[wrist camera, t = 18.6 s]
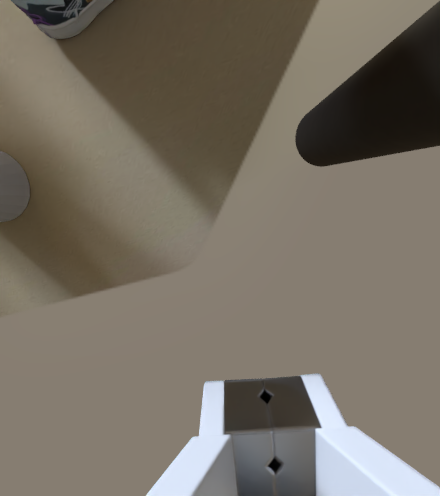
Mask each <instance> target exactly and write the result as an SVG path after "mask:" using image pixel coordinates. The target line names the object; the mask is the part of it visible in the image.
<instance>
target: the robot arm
mask: <svg viewBox="0 0 440 496" xmlns="http://www.w3.org/2000/svg"><path fill="white" fill-rule="evenodd" d="M146 496H440V487H439V486H437V485H436V484H435V483H433V482H432V481H430V480H429V479H427V478H426V477H425V476H423V475H422V474H420V473H419V472H418V471H416V470H415V469H414V468H412V467H411V466H409V465H408V464H407V463H405V462H404V461H402V460H401V459H400V458H398V457H397V456H395V455H394V454H393V453H391V452H390V451H388V450H387V449H386V448H384V447H383V446H382V445H380V444H379V443H377V442H376V441H375V440H373V439H372V438H370V437H369V436H368V435H366V434H365V433H363V432H362V431H361V430H359V429H358V428H356V427H355V426H354V427H348V425H347V424H346V421H345V420H344V418H343V416H342V414H341V412H340V410H339V408H338V406H337V404H336V402H335V400H334V398H333V397H332V395H331V393H330V391H329V389H328V387H327V385H326V383H325V381H324V380H323V378H322V376H321V375H320V374H307V375H300V376H292V377H278V378H265V379H242V380H225V382H224V381H207V382H205V384H204V390H203V401H202V410H201V420H200V431H199V436H198V437H192V438H191V440H190V441H189V442H188V443H187V445H186V446H185V447H184V449H183V450H182V451H181V452H180V453H179V455H178V456H177V457H176V458H175V460H174V461H173V462H172V463H171V465H170V466H169V467H168V468H167V470H166V471H165V472H164V473H163V475H162V476H161V477H160V479H159V480H158V481H157V482H156V483H155V485H154V486H153V487H152V489H151V490H150V491H149V492H148V494H147V495H146Z"/></svg>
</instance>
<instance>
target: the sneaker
mask: <svg viewBox="0 0 440 496" xmlns="http://www.w3.org/2000/svg"><path fill="white" fill-rule="evenodd" d="M11 1H12V2H13V3H14V4H15V5H16V6H17V7H18V8H19V9H21V10H22V11H23V12H24V13H26V15H27V16H28V17H29V18H30V19H31V20H32V21H33V23H34V24H36V25H37V26H38V28H39V29H40V30H41V31H42V32H44V33H45V34H47V35H48V36H49V37H52V38H58V39H64V38H70V37H72V36H75V35H78V34H79V33H80V32H81V31H83V30H84V29H85V28H86V27H87V26H88V25H89V24H90V23H91V22H92V20H93V19H94V18H95V17H96V16H97V15H98V14H99V13H100V12H101V11H102V10H103V9H104V8H105V7H107V6H108V5H109V4H110V3H111V2H112V1H113V0H11Z"/></svg>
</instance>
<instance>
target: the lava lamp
mask: <svg viewBox="0 0 440 496" xmlns="http://www.w3.org/2000/svg"><path fill="white" fill-rule="evenodd" d="M29 198H30V185H29V182H28V179H27V176H26V173H25V172H24V170H23V169H22V167H21V166H20V164H19V163H18V162H17V161H16V160H15V159H13V158H12V157H11V156H10V155H9V154H6V153H4V152H2V151H0V222H5V221H9V220H13V219H14V218H16V217H18V216H19V215H21V214H22V212H23V211H24V210H25V208H26V207H27V204H28V201H29Z"/></svg>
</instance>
